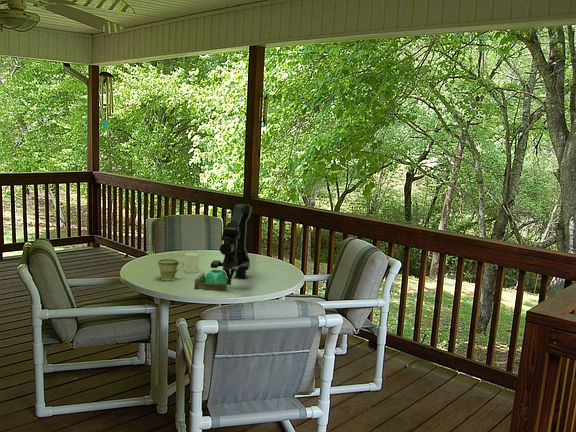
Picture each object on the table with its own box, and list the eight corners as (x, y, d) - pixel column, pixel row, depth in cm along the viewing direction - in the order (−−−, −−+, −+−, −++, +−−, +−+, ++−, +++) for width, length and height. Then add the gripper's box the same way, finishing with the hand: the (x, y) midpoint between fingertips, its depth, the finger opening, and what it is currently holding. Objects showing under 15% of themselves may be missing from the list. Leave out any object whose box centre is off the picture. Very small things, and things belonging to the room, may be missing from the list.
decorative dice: (216, 284, 283) (217, 268, 282) (227, 287, 278) (227, 271, 276) (204, 286, 277) (205, 271, 276) (214, 290, 272) (215, 274, 271)
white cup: (181, 271, 306) (182, 253, 304) (193, 269, 311) (193, 252, 310) (189, 274, 300) (190, 256, 299) (201, 272, 306) (202, 254, 304)
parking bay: (201, 282, 285) (201, 272, 284) (231, 284, 284) (231, 274, 283) (194, 289, 271) (194, 279, 271) (225, 291, 270) (226, 281, 269)
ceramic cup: (158, 282, 281) (158, 262, 280) (157, 277, 290) (157, 258, 289) (184, 281, 284) (184, 262, 283) (182, 276, 294) (183, 258, 293)
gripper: (208, 253, 267) (207, 284, 269) (247, 255, 266) (245, 287, 268) (213, 249, 278) (212, 279, 280) (250, 251, 277) (249, 281, 279)
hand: (229, 282), depth 277 cm, fingers closed
